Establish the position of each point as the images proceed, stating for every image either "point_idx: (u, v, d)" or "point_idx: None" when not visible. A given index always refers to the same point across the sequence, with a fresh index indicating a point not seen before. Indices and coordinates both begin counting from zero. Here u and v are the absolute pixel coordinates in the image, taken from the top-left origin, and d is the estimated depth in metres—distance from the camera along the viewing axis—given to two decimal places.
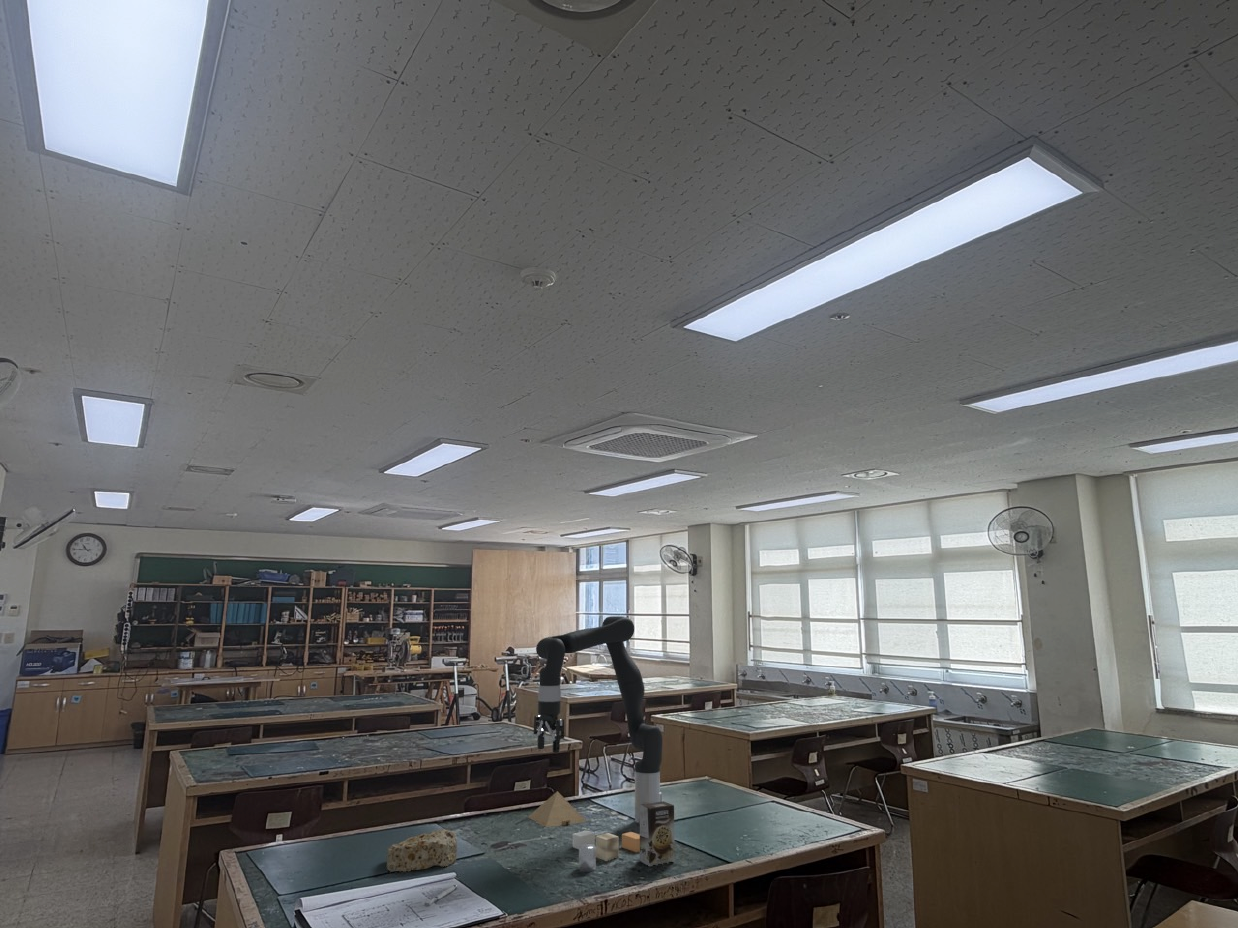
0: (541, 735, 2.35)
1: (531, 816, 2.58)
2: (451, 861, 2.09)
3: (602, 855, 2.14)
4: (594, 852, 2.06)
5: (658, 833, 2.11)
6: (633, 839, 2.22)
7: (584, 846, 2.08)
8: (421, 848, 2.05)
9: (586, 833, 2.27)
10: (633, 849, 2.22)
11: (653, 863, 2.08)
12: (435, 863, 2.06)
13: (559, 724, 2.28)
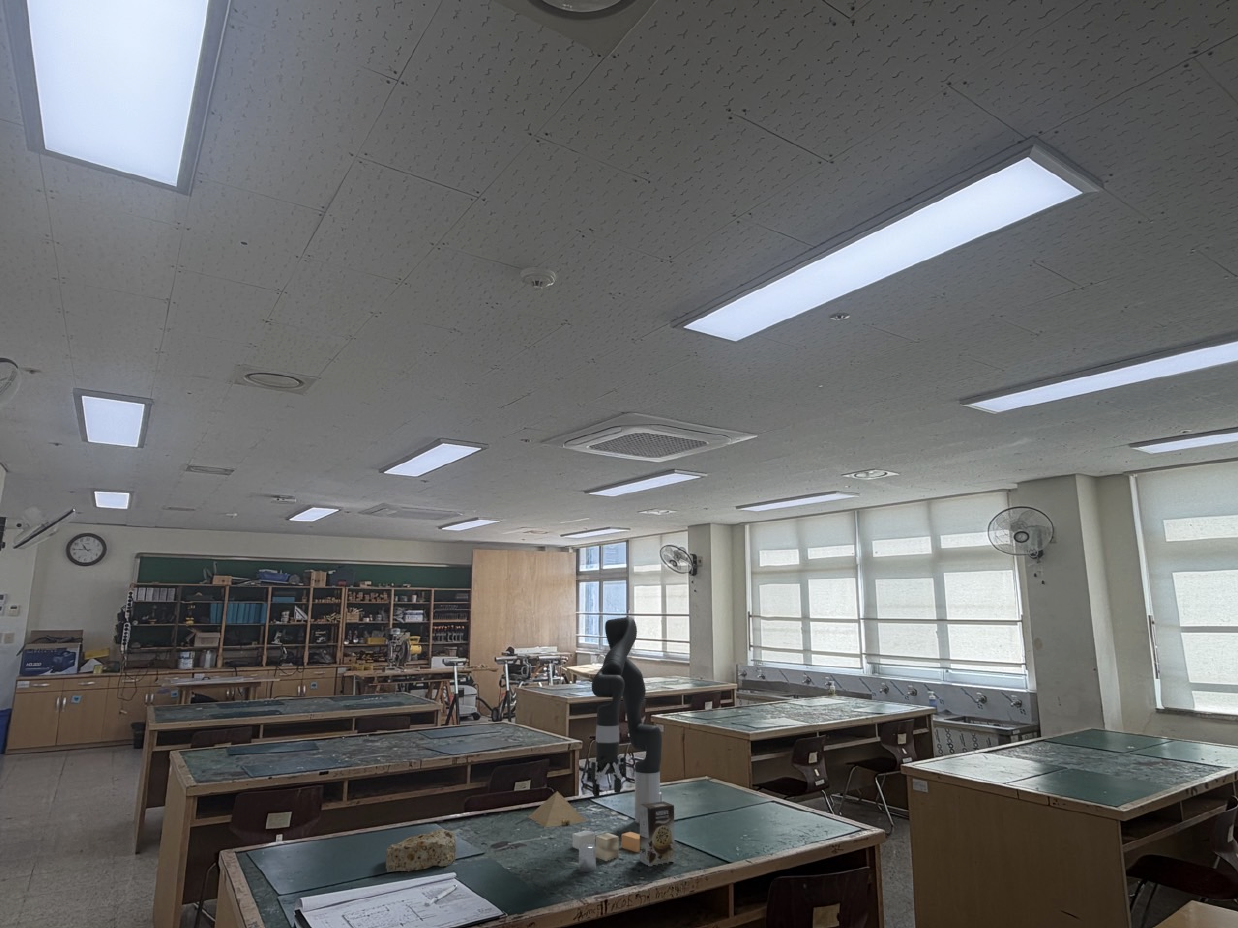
0: None
1: (531, 816, 2.58)
2: (450, 861, 2.09)
3: (602, 855, 2.14)
4: (594, 852, 2.06)
5: (658, 833, 2.11)
6: (634, 839, 2.22)
7: (584, 846, 2.08)
8: (421, 849, 2.05)
9: (586, 833, 2.27)
10: (634, 849, 2.22)
11: (653, 863, 2.08)
12: (434, 863, 2.05)
13: None
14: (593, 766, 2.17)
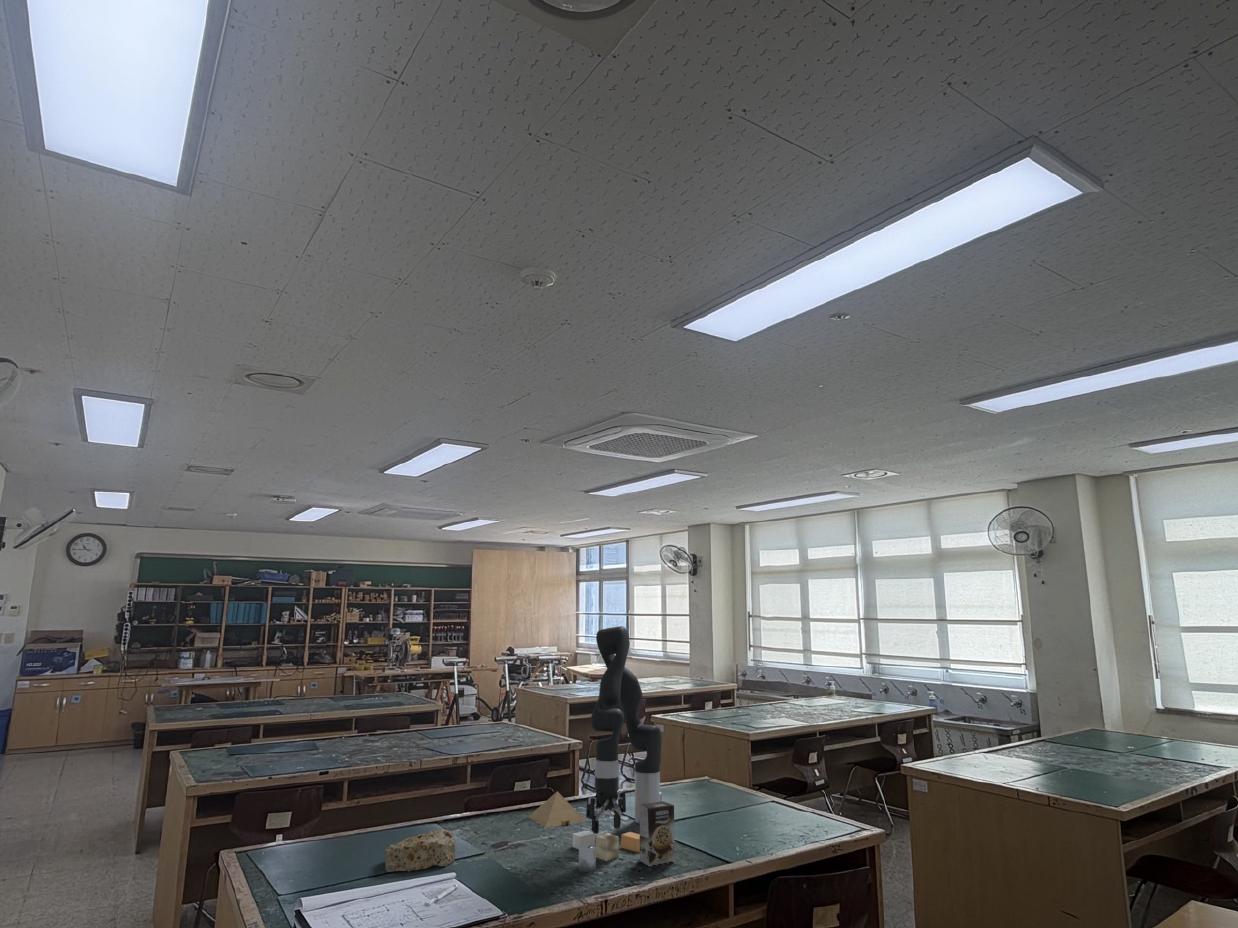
0: None
1: (531, 816, 2.58)
2: (450, 861, 2.09)
3: (602, 855, 2.14)
4: (594, 852, 2.06)
5: (658, 833, 2.11)
6: (634, 839, 2.22)
7: (584, 846, 2.08)
8: (420, 849, 2.05)
9: (586, 833, 2.27)
10: (634, 849, 2.22)
11: (653, 863, 2.08)
12: (434, 863, 2.06)
13: None
14: (592, 802, 2.15)
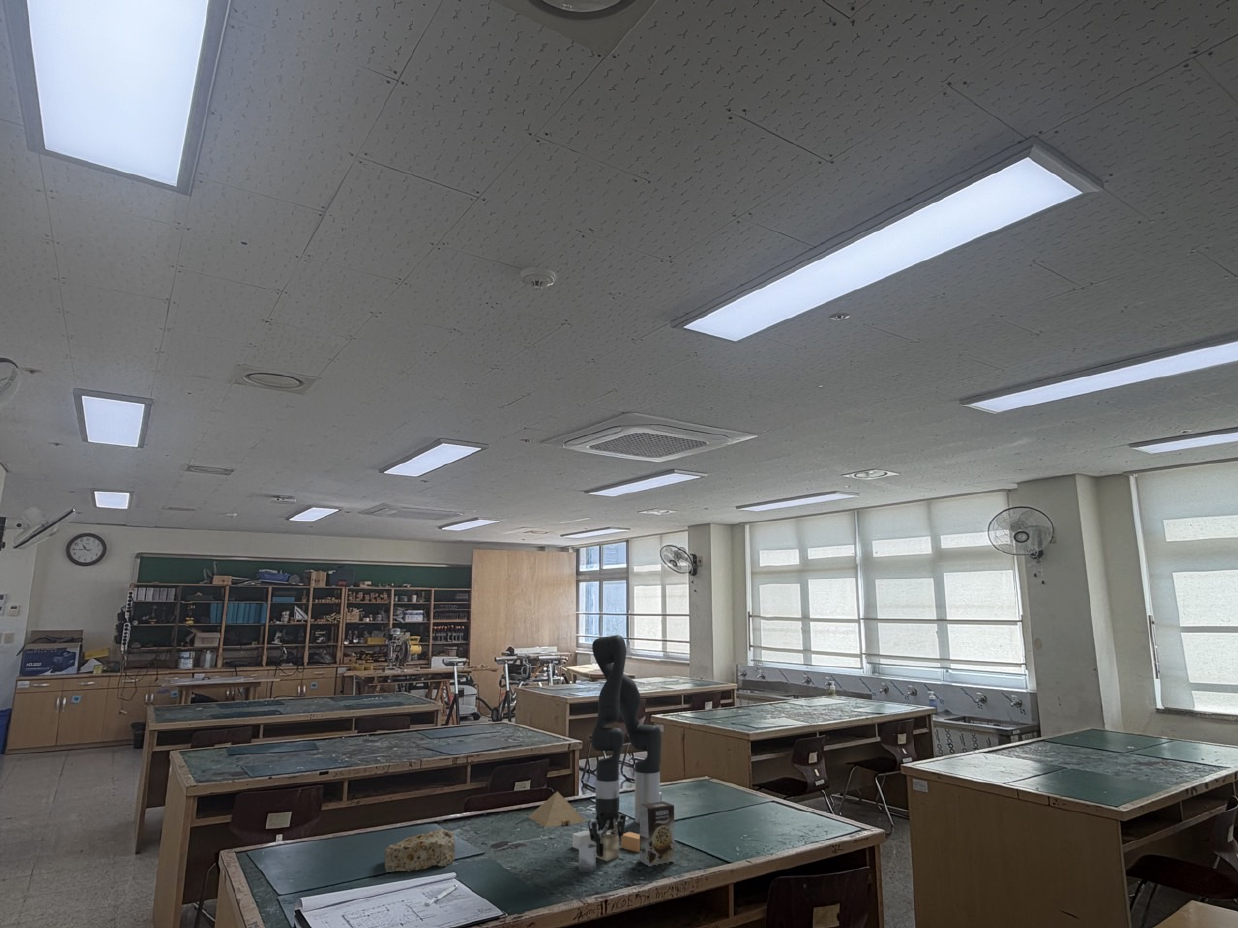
0: None
1: (531, 816, 2.58)
2: (449, 861, 2.09)
3: None
4: (594, 852, 2.06)
5: (658, 833, 2.11)
6: (634, 839, 2.22)
7: (584, 846, 2.07)
8: (420, 849, 2.05)
9: (586, 833, 2.27)
10: (634, 849, 2.22)
11: (653, 863, 2.08)
12: (434, 863, 2.06)
13: None
14: (594, 827, 2.13)
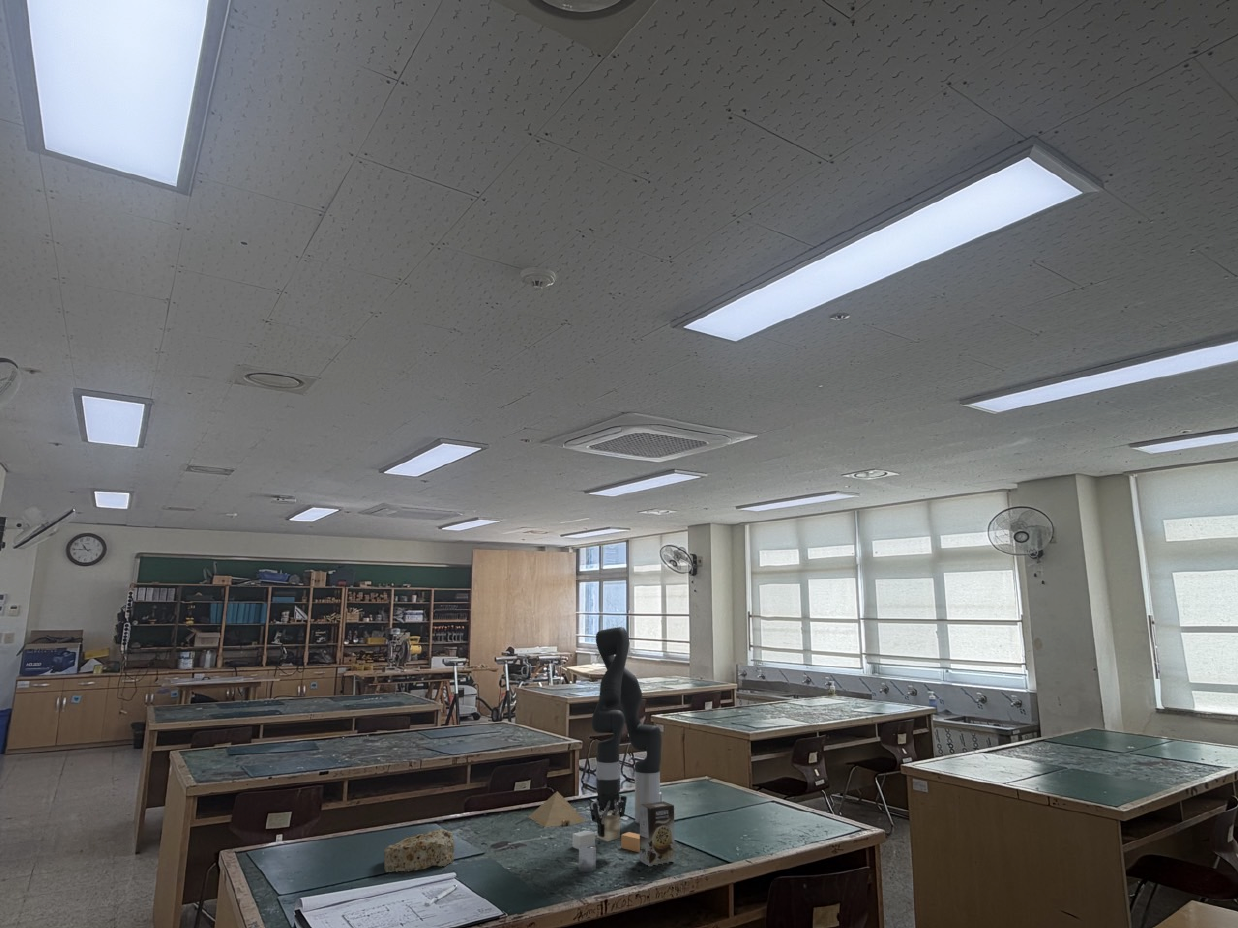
0: None
1: (531, 816, 2.58)
2: (449, 861, 2.09)
3: None
4: (594, 852, 2.06)
5: (658, 833, 2.11)
6: (635, 839, 2.22)
7: (584, 846, 2.08)
8: (420, 849, 2.05)
9: (586, 833, 2.27)
10: (635, 849, 2.22)
11: (653, 863, 2.08)
12: (433, 863, 2.06)
13: None
14: (595, 807, 2.15)
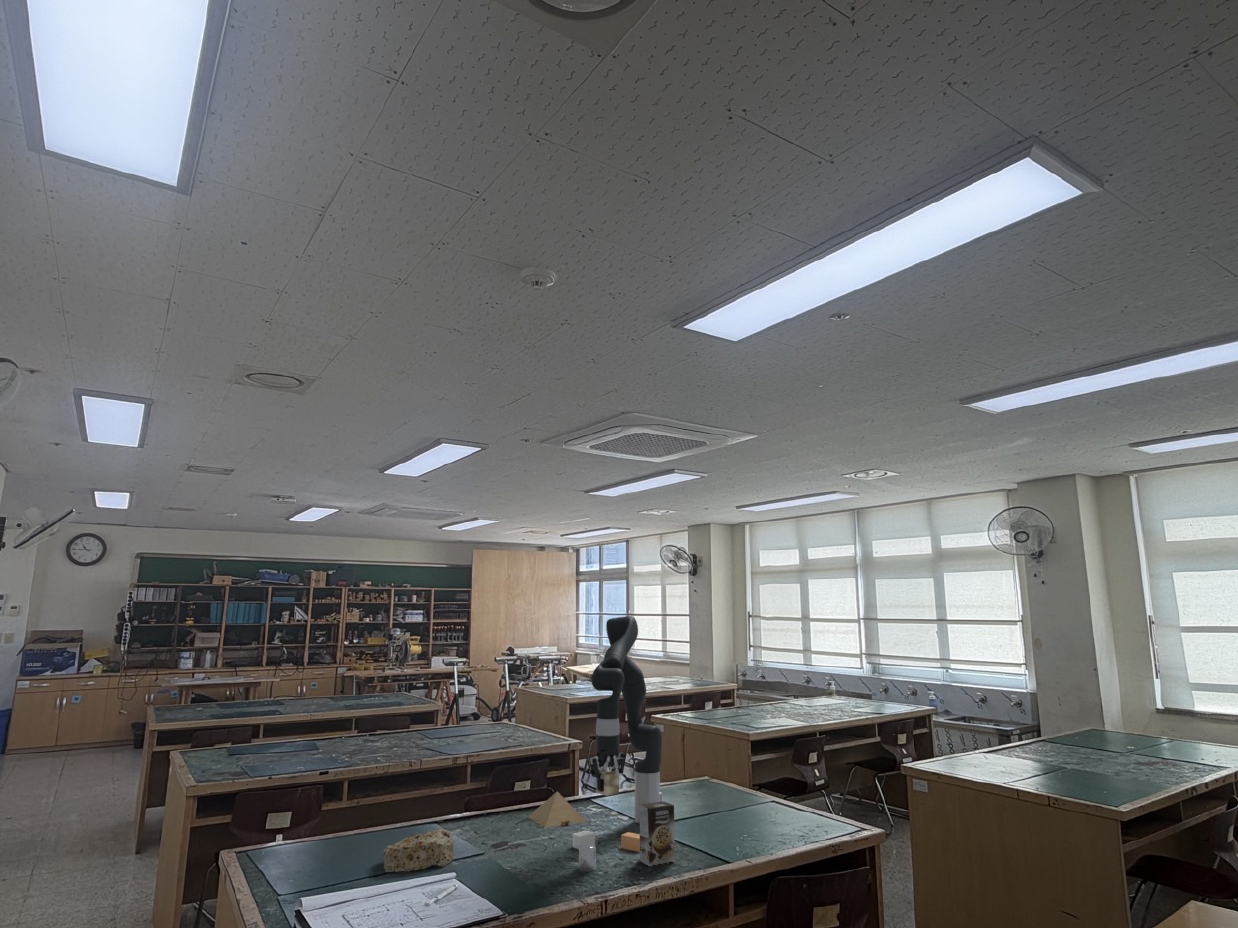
0: None
1: (531, 816, 2.58)
2: (448, 861, 2.10)
3: None
4: (594, 852, 2.06)
5: (658, 833, 2.11)
6: (635, 839, 2.22)
7: (584, 846, 2.08)
8: (419, 849, 2.05)
9: (586, 833, 2.27)
10: (635, 849, 2.22)
11: (653, 863, 2.08)
12: (433, 863, 2.06)
13: None
14: (594, 762, 2.18)
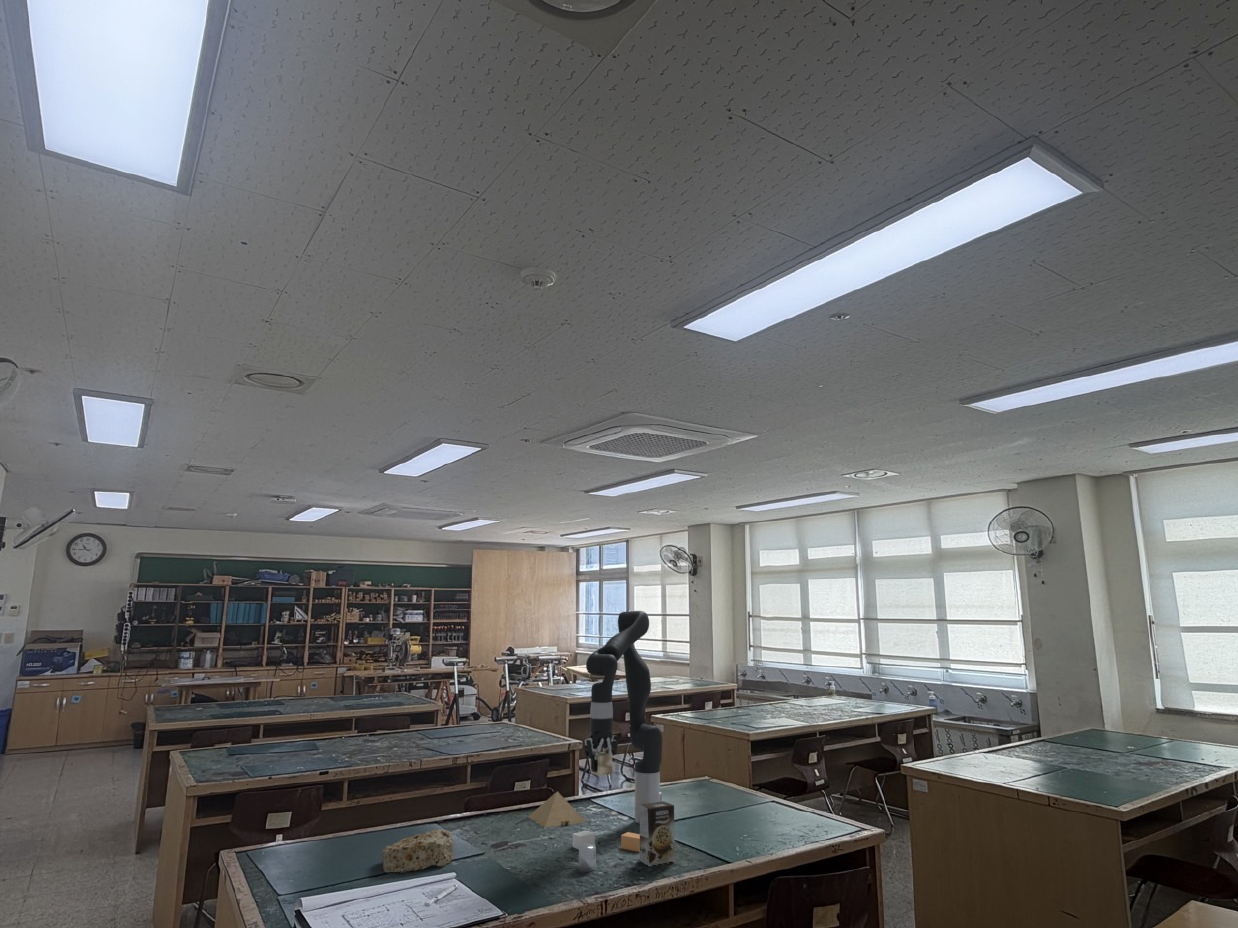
0: None
1: (531, 816, 2.58)
2: (448, 861, 2.10)
3: None
4: (594, 852, 2.06)
5: (658, 833, 2.11)
6: (636, 839, 2.22)
7: (584, 846, 2.08)
8: (419, 849, 2.05)
9: (586, 833, 2.27)
10: (636, 849, 2.22)
11: (653, 863, 2.08)
12: (433, 863, 2.06)
13: None
14: (588, 744, 2.27)
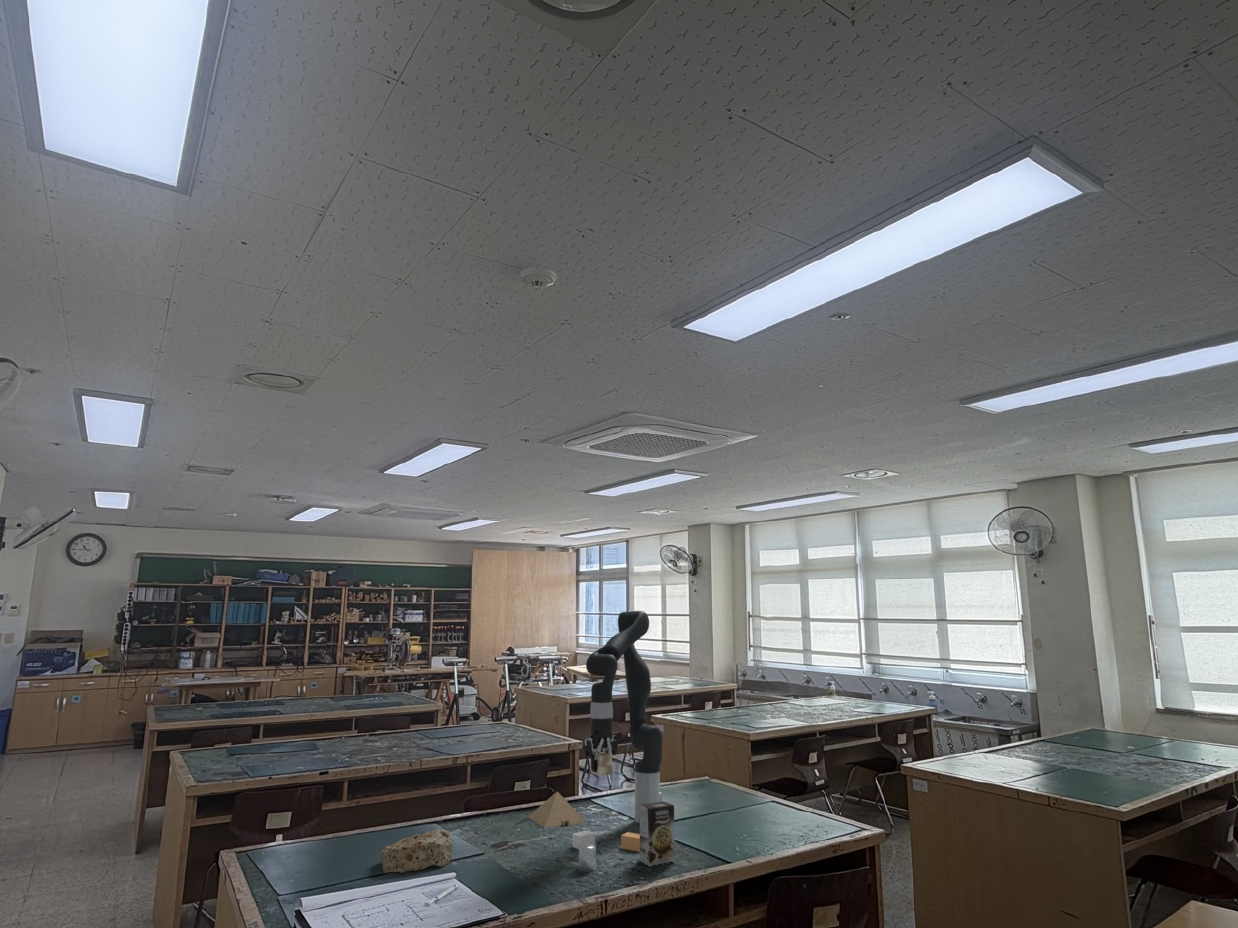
0: None
1: (531, 816, 2.58)
2: (447, 861, 2.09)
3: None
4: (594, 852, 2.06)
5: (658, 833, 2.11)
6: (636, 839, 2.23)
7: (584, 846, 2.08)
8: (419, 849, 2.05)
9: (586, 833, 2.27)
10: (636, 849, 2.22)
11: (653, 863, 2.08)
12: (432, 863, 2.06)
13: None
14: (588, 744, 2.27)
